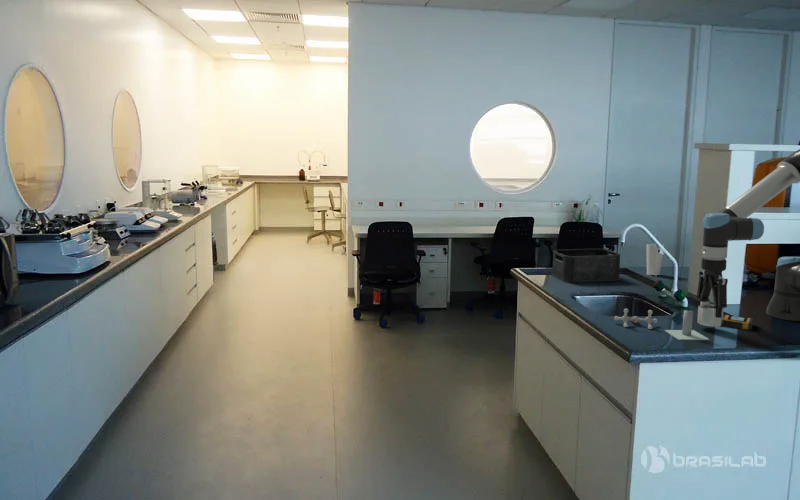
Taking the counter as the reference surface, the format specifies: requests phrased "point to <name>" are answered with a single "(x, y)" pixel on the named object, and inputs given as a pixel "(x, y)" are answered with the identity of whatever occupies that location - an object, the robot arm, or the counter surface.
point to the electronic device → (737, 322)
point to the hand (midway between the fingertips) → (709, 322)
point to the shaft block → (687, 329)
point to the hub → (706, 315)
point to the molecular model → (636, 319)
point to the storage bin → (586, 265)
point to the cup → (653, 260)
